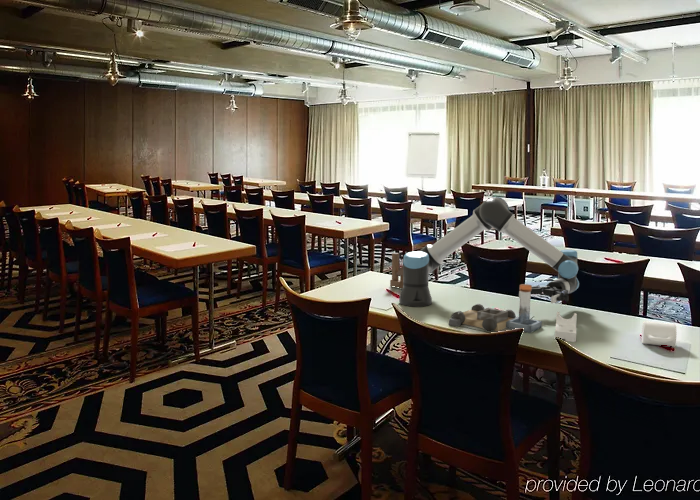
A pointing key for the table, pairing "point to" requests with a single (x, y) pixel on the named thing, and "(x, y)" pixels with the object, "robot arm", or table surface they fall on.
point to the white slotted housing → (658, 333)
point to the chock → (454, 322)
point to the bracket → (566, 328)
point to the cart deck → (478, 323)
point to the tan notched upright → (396, 272)
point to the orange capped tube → (524, 304)
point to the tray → (527, 328)
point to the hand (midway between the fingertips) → (535, 297)
